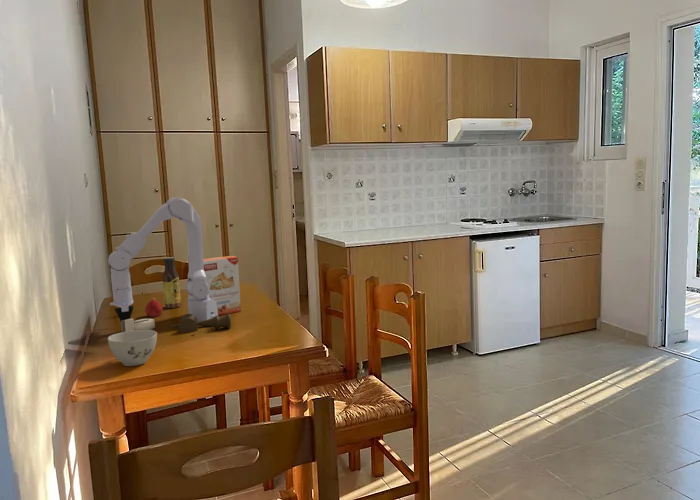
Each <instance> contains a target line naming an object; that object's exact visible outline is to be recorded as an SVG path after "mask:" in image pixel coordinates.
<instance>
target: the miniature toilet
mask: <svg viewBox="0 0 700 500" xmlns="http://www.w3.org/2000/svg"><path fill="white" fill-rule="evenodd" d="M155 325H156V323H155V319H154V318H140V319H137V320H135V319H134V318H131V319H126V320H121V322H120V327H121V329H120V330H121V332H126V331H132V330H139V331H141V330H153V329H155V327H156V326H155Z"/></svg>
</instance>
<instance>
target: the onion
mask: <svg viewBox="0 0 700 500" xmlns="http://www.w3.org/2000/svg"><path fill="white" fill-rule="evenodd" d="M162 313H163V306H162V304H161V303H160V302H159V301H158V300H156V298H155V297H152V298H151V300H150V301H148V303H147V304H146V306H145V314H146V315H147V316H148V317H150V318H155V317H159V316H160V315H162Z"/></svg>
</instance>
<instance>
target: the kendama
mask: <svg viewBox="0 0 700 500" xmlns="http://www.w3.org/2000/svg"><path fill="white" fill-rule="evenodd" d="M167 327H168V328H178V331H179V334H181V333H182V334H183V333H185V334H186V333H193V332H198V329H199V327H213V328H215V329H217V330H218V329H220V328H227V329H228V330H230V329H231V328H232V316H231V313H228V314H225V315H222V316H219V315H218V316H215V317H214V318H212V319H208V320H204V321H199V322H197V319H196V317H195V316H194V315H192V314H189V313H185V314H184V315H183V314H182V316H181V317H180V320H179V323H175V324H169V325H167ZM194 335H195V333H193V334H191V335H190V337H193V336H194Z"/></svg>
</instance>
